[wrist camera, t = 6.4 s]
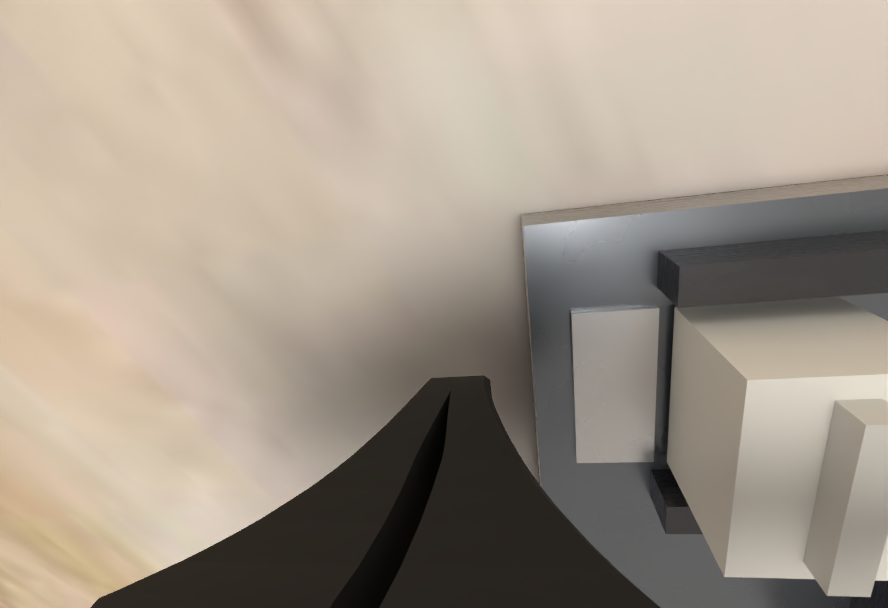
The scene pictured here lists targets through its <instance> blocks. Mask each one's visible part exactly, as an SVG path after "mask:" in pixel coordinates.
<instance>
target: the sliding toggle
mask: <svg viewBox="0 0 888 608" xmlns="http://www.w3.org/2000/svg"><path fill="white" fill-rule="evenodd" d="M667 463H668V465H669V467H670V469H671V471H672V473H673V475H674V477H675V479H676V481H677V483H678V485H679V487H680V489H681V491H682V493H683V495H684V497H685V499H686V501H687V503H688V505H689V507H690V509H691V511H692V513H693V515H694V517H695V519H696V521H697V523H698V525H699V527H700V529H701V531H702V533H703V535H704V537H705V539H706V541H707V543H708V545H709V547H710V549H711V551H712V553H713V555H714V557H715V559H716V561H717V563H718V565H719V567H720V569H721V571H722V573H723V575H724V577H743V578H786V579H815V580H816V581H817V582H818V584H819V585H820V587H821V588H822V590H823V591H824V592H825V594H826V595H827V596H850V597H871V593H872V590H873V586H874V582H875V581H888V321H887V320H885V319H883V318H881V317H879V316H877V315H874V314H872V313H870V312H868V311H866V310H864V309H862V308H860V307H858V306H856V305H854V304H852V303H849V302H847V301H845V300H843V299H841V298H839V297H823V298H808V299H794V300H780V301H766V302H752V303H737V304H723V305H709V306H695V307H680V308H677V307H675V309H674V329H673V349H672V368H671V388H670V408H669V428H668V447H667Z"/></svg>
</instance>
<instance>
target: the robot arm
mask: <svg viewBox="0 0 888 608" xmlns="http://www.w3.org/2000/svg"><path fill="white" fill-rule="evenodd" d="M91 608H661V607H659V606H658V605H657V604H656V603H655V602H654V601H652V600H651V599H650V598H649V597H648V596H646V595H645V594H644V593H643V592H642V591H641V590H640V589H639V588H637V587H636V586H635V585H634V584H633V583H632V582H631V581H630V580H628V579H627V578H626V577H625V576H624V575H623V574H622V573H621V572H619V571H618V570H617V569H616V568H615V567H614V566H613V565H612V564H611V563H610V562H609V561H608V560H607V559H606V558H605V557H604V556H603V555H602V554H601V553H600V552H599V551H598V550H597V549H596V548H595V547H594V546H593V545H592V544H591V543H590V542H589V541H588V540H587V539H586V538H585V537H584V536H583V535H582V534H581V532H580V531H579V530H578V529H577V528H576V527H575V526H574V525H573V524H572V523H571V522H570V520H569V519H568V518H567V517H566V516H565V515H564V514H563V513H562V512H561V511H560V510H559V508H558V507H557V506H556V505H555V504H554V502H553V501H552V500H551V499H550V497H549V496H548V495H547V494H546V492H545V491H544V490H543V489H542V487H541V486H540V485H539V483H538V482H537V480H536V479H535V478H534V476H533V475H532V474H531V472H530V471H529V469H528V468H527V466H526V465H525V463H524V462H523V460H522V459H521V457H520V455H519V454H518V452H517V450H516V449H515V447H514V445H513V444H512V442H511V440H510V438H509V436H508V434H507V433H506V431H505V429H504V426H503V424H502V422H501V420H500V418H499V416H498V414H497V411H496V409H495V406H494V403H493V400H492V396H491V386H490V380H489V379H488V378H487V377H485V376H468V377H448V378H431V379H430V380H429V381H428V382H427V383H426V384H425V385H424V386H423V387H422V388H421V389H420V391H419V392H418V393H417V394H416V395H415V396H414V397H413V398H412V399H411V400H410V401H409V402H408V403H407V404H406V405H405V406H404V407H403V408H402V410H401V411H400V412H399V413H398V414H397V415H396V416H395V417H394V418H393V419H392V420H391V421H390V422H389V423H388V424H387V425H386V426H385V427H383V428H382V429H381V430H380V431H379V432H378V433H377V434H376V435H375V436H374V437H372V438H371V439H370V440H369V441H368V442H367V443H366V444H365V445H364V446H363V447H361V448H360V449H359V450H358V451H357V452H356V453H355V454H353V455H352V456H351V457H350V458H349V459H347V460H346V461H345V462H344V463H342V464H341V465H340V466H339V467H337V468H336V469H335V470H333V471H332V472H331V473H329V474H328V475H327V476H325V477H324V478H323V479H321V480H320V481H319V482H317V483H316V484H314V485H313V486H312V487H310V488H309V489H307V490H306V491H304V492H302V493H301V494H299V495H298V496H296V497H295V498H293V499H292V500H290V501H288V502H287V503H285V504H284V505H282V506H281V507H279V508H277V509H276V510H274V511H273V512H271V513H270V514H268V515H266V516H265V517H263V518H262V519H260V520H258V521H256V522H255V523H253V524H251V525H249V526H248V527H246V528H244V529H242V530H240V531H239V532H237V533H235V534H233V535H232V536H230V537H228V538H226V539H224V540H222V541H220V542H218V543H216V544H214V545H213V546H211V547H209V548H207V549H205V550H203V551H201V552H199V553H197V554H195V555H193V556H191V557H189V558H187V559H185V560H183V561H181V562H179V563H177V564H174V565H172V566H170V567H168V568H166V569H163V570H161V571H159V572H157V573H155V574H152V575H150V576H148V577H146V578H144V579H141V580H139V581H137V582H135V583H133V584H131V585H128V586H126V587H124V588H122V589H120V590H117V591H115V592H113V593H110V594H108V595H106V596H103V597H101V598H99V599H98V600H97V601H96V602H95V603H94V604H93V606H92V607H91Z"/></svg>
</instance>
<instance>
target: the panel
mask: <svg viewBox="0 0 888 608" xmlns="http://www.w3.org/2000/svg"><path fill="white" fill-rule="evenodd" d="M521 224H522V238H523V252H524V267H525V281H526V295H527V310H528V324H529V338H530V352H531V367H532V381H533V395H534V410H535V424H536V438H537V452H538V467H539V481H540V486H541V487H542V489H543V490H544V491H545V492H546V494H547V495H548V496H549V497H550V499H551V500H552V501H553V502H554V504H555V505H556V506H557V507H558V508H559V510H560V511H561V512H562V513H563V514H564V515H565V516H566V517H567V518H568V519H569V520H570V522H571V523H572V524H573V525H574V526H575V527H576V528H577V529H578V530H579V531H580V532H581V534H582V535H583V536H584V537H585V538H586V539H587V540H588V541H589V542H590V543H591V544H592V545H593V546H594V547H595V548H596V549H597V550H598V551H599V552H600V553H601V554H602V555H603V556H604V557H605V558H606V559H607V560H608V561H609V562H610V563H611V564H612V565H613V566H614V567H615V568H616V569H617V570H618V571H619V572H621V573H622V574H623V575H624V576H625V577H626V578H627V579H628V580H630V581H631V582H632V583H633V584H634V585H635V586H636V587H637V588H639V589H640V590H641V591H642V592H643V593H644V594H645V595H646V596H648V597H649V598H650V599H651V600H652V601H654V602H655V603H656V604H657V605H658V606H659V607H661V608H888V581H875V582H874V586H873V590H872V593H871V597H850V596H827V595H826V594H825V592H824V591H823V590H822V588H821V587H820V585H819V584H818V582H817V581H816V580H815V579H786V578H743V577H724V575H723V573H722V571H721V569H720V567H719V565H718V563H717V561H716V559H715V557H714V555H713V553H712V551H711V549H710V547H709V545H708V543H707V541H706V539H705V537H704V535H703V533H702V531H701V529H700V527H699V525H698V523H697V521H696V519H695V517H694V515H693V513H692V511H691V509H690V507H689V505H688V503H687V501H686V499H685V497H684V495H683V493H682V491H681V489H680V487H679V485H678V483H677V481H676V479H675V477H674V475H673V473H672V471H671V469H670V467H669V465H668V463H667V447H668V428H669V408H670V388H671V368H672V349H673V329H674V309H675V307H677V308H680V307H695V306H709V305H723V304H737V303H752V302H766V301H780V300H794V299H808V298H823V297H839V298H841V299H843V300H845V301H847V302H849V303H852V304H854V305H856V306H858V307H860V308H862V309H864V310H866V311H868V312H870V313H872V314H874V315H877V316H879V317H881V318H883V319H885V320H887V321H888V175H880V176H871V177H862V178H852V179H843V180H834V181H825V182H816V183H806V184H797V185H788V186H779V187H769V188H760V189H751V190H742V191H733V192H723V193H714V194H705V195H696V196H687V197H677V198H668V199H659V200H650V201H640V202H631V203H622V204H613V205H604V206H594V207H585V208H576V209H567V210H558V211H548V212H539V213H530V214H521Z"/></svg>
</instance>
